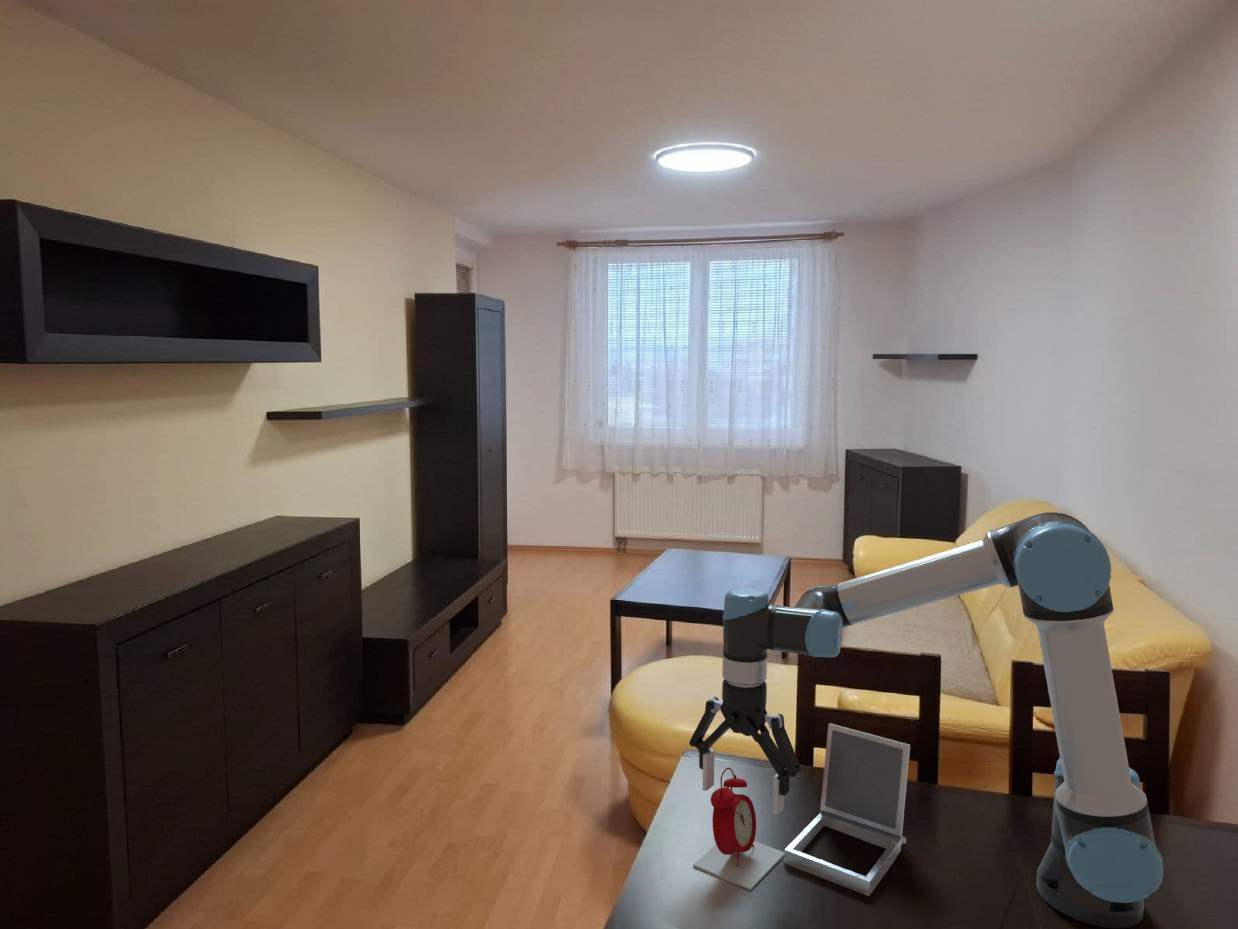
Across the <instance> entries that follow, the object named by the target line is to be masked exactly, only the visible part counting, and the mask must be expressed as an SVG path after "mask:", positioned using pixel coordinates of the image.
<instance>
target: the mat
mask: <svg viewBox="0 0 1238 929" xmlns="http://www.w3.org/2000/svg"><path fill="white" fill-rule="evenodd" d="M753 845H754V846H755V847H754V848H753V847H751V849H750V850H749V851H747V852H739V861H738V865H739V867H737V866H736V865H737V852H734V853H732V854H730V855H725V854H722V853H721V852H720V850H719V849H718V847H717V845H716V844H715V845H713V846H712V847H711V848H710V849H709V850H708V851H707V852H705V853H704V854H703V855H702V856H700V857H699V859H697V860H696V861H695V862H694V863H693V866H692V867H694V868H696V869H698V870H700V871H702V872H705V873H708V874H710V875H712V876H714V877H717V878H719V879H722V880H724V881H727V882H729V883H732V884H733V885H736V886H739V887H741V888H744V889H746V890H747V891H750V892H751V891H752V890H753V889H754V888H755V886H757V885H758V884H759V882H761V881H762V879H763V878H764V877H765V876H766V875H768V873H769V872H770V871H771V870H772V869H773V868H774V867H775V866H776V865H777V864H778V863H779V862H780V861H781V860H782V859H783V857H784V851H781V850H779V849H776V848H773V847H771V846H769V845H766V844H763V843H760V842H758V841H756V840H754V843H753Z"/></svg>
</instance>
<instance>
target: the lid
mask: <svg viewBox="0 0 1238 929" xmlns="http://www.w3.org/2000/svg"><path fill="white" fill-rule="evenodd" d="M827 726H828V727H827V736H826V737H827V738H826V744H825V745H826V747H825V755H824V756H825V757H824V758H825V760H824V767H823V777H822V778H823V779H822V790H821V799H820V810H824V811H827V812H830V813H833V814H836V815H839V816H842V817H845V818H848V819H851V820H854V821H857V822H860V823H863V824H866V825H869V826H872V827H875V828H878V829H881V830H884V831H887V832H890V833H893V834H896V835H899V836H901V835H902V836H903V828H904V817H905V806H906V796H907V784H908V774H909V773H908V772H909V763H910V753H911V752H910V751H911V744H908V743H906V742H900V741H899V740H898V741H897V740H895V739H891V738H887V737H883V736H879V735H875V734H872V733H868V732H863V731H861V730H856V729H852V728H850V727H845V726H842V725H838V724H834V723H831V722H829V723H828V725H827Z"/></svg>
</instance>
